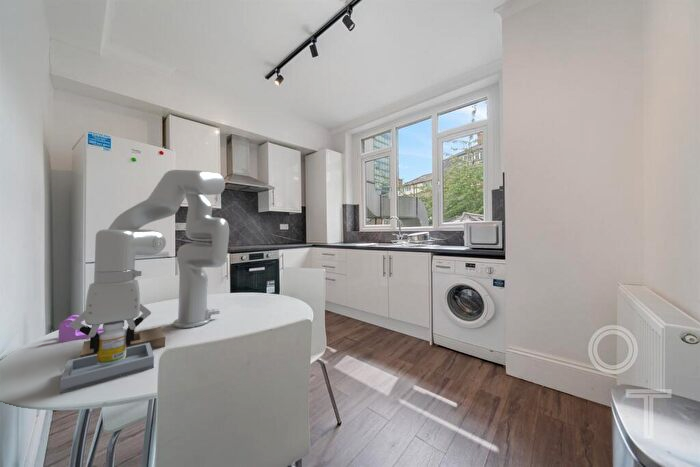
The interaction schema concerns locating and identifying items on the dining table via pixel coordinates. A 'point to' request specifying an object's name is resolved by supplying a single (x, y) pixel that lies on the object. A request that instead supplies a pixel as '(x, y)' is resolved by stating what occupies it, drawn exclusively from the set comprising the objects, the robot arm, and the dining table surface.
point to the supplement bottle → (112, 343)
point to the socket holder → (135, 340)
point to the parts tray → (105, 368)
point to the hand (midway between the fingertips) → (112, 346)
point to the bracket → (71, 331)
